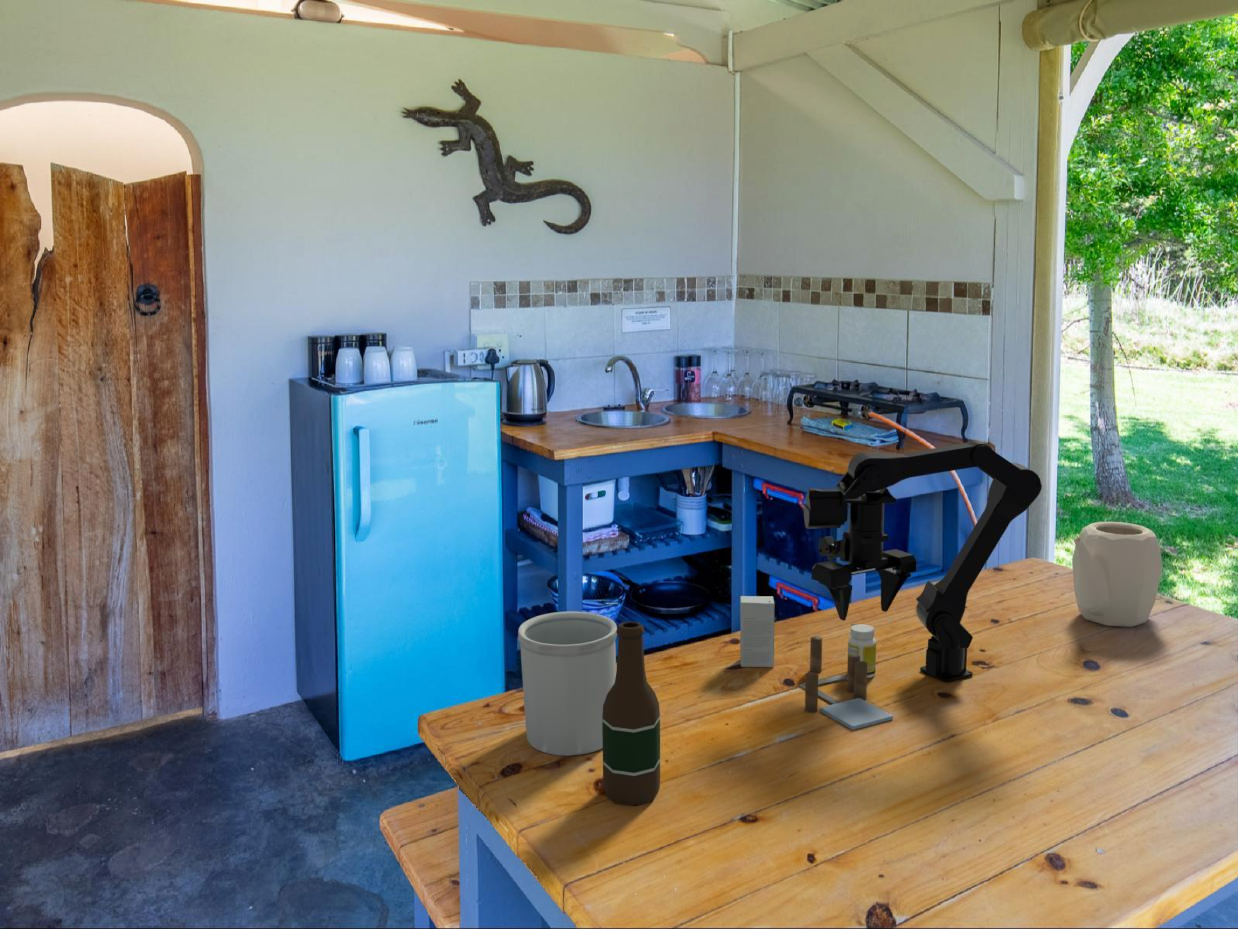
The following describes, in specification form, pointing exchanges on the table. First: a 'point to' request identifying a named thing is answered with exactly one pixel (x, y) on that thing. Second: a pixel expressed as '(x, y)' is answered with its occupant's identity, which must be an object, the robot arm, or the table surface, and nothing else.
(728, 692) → the table surface
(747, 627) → the skincare box
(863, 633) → the supplement bottle
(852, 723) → the pad
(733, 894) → the table surface
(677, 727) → the table surface
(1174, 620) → the table surface
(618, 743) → the beer bottle
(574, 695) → the utensil holder
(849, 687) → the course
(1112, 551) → the faceted clay vase
